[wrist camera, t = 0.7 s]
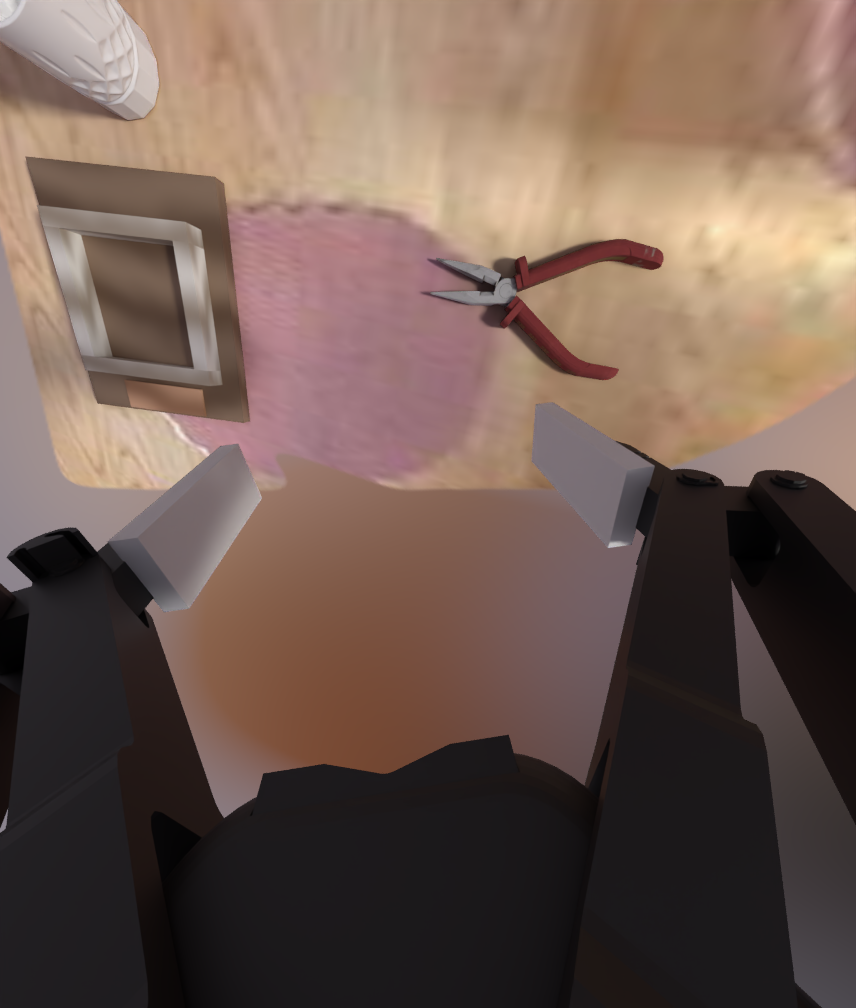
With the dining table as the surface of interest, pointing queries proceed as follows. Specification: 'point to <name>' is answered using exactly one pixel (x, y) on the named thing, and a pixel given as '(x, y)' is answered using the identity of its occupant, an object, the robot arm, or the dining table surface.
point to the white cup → (86, 50)
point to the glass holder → (147, 285)
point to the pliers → (542, 273)
